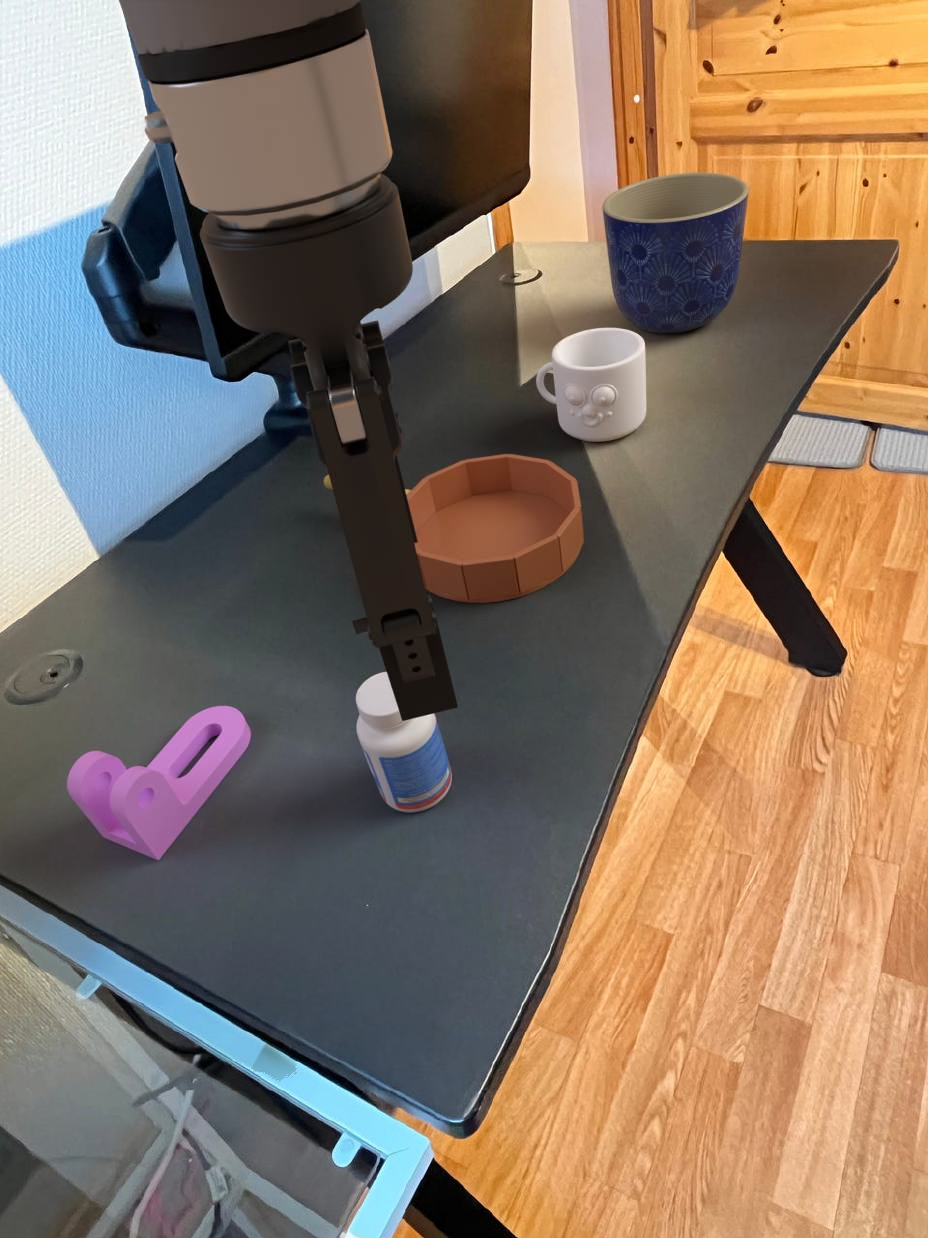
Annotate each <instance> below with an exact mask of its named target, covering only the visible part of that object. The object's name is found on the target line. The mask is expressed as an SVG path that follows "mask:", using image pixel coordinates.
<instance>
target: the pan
mask: <svg viewBox="0 0 928 1238" xmlns="http://www.w3.org/2000/svg"><path fill="white" fill-rule="evenodd" d="M323 485H324V487H325V488H326V489H327V490H331V491H333V488H332V485H331V481H330V477H329V474H327V475H325V477H324V478H323ZM405 491H406V495H407V499H408V504H409V508H410V512H411V516H412V520H413V524H414V528H415V532H416V536H417V540H418V542H417V543H414V544H415V548H416V552H417V556H418V560H419V564H420V568H421V572H422V576H423V580H424V585H425V589H426V591H428V592H429V593H432V594H434V595H436V596H438V597H441V598H444V599H447V600H451V601H455V602H460V603H471V604H473V603H474V604H485V603H497V602H503V601H510V600H514V599H517V598H521V597H524V596H526V595H530V594H532V593H535V592H537V591H539V590H541V589H543V588H545V587H547V586H548V585H551V584H552V583H553V582H555V581H556V580H558V579H559V578H560V577H562V576H563V575H564V574H565V573H566V572H567V571H569V569H570V568H571V567H572V565H573V564H574V563H575V562H576V560H577V558H578V557H579V554H580V552H581V549H582V547H583V545H584V542H585V536H584V535H585V533H584V524H583V511H582V505H581V497H580V490H579V485H578V480H577V478H576V477H574V476H573V475H571V474H569V473H568V472H567V471H565V470H564V469H563V468H561V467H560V466H558V465H557V464H555V463H554V462H553V461H552V460H549V459H543V458H537V457H531V456H525V455H520V454H514V453H509V454H508V453H502V454H496V455H489V456H482V457H473V458H466V459H462V460H460V461H458V462H455V463H454V464H451V465H449V466H447V467H444V468H442V469H440V470H437V471H435V472H433V473H431V474H428V475H426V476H424V477H423V478H422V479H421V480H420V481H419V482H418V483H417V484H416V485H415V486H414V487H413V488H412V489H408V488H405Z"/></svg>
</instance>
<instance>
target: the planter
mask: <svg viewBox="0 0 928 1238" xmlns="http://www.w3.org/2000/svg"><path fill="white" fill-rule="evenodd" d="M749 194H750V189H749V186H748V184H747V183H746V182H745V181H744V180H742V179H741V178H739V177H736V176H733V175H730V174H724V173H716V172H684V173H673V174H666V175H660V176H656V177H651V178H646V179H641V180H640V181H637V182H633V183H630V184H627V185H625V186H623V187H621V188H619V189H617V190H615V191H614V192H612V193H611V194H609V195H608V196H607V197H606V198H605V199H604V201H603V203H602V216H603V217H602V218H603V225H604V234H605V241H606V250H607V257H608V266H609V267H608V268H609V275H610V283H611V288H612V294H613V297H614V300H615V303H616V305H617V307H618V310H619V311H620V313H621V315H623V317H624V318H625V319H626V320H627V321H628V322H630V323H631V324H632V325H633V326H635V327H637V328H639V329H642V330H644V331H647V332H651V333H656V334H657V333H658V334H676V333H677V334H678V333H684V332H688V331H692V330H696V329H698V328H701V327H703V326H705V325H707V324H709V323H710V322H712V321H713V320H715V319H716V318H717V317H719V316H720V315H721V313H722V312H723V311H724V310H725V309H726V308H727V306H728V305H729V303H730V301H731V299H732V298H733V295H734V293H735V289H736V287H737V283H738V279H739V274H740V266H741V258H742V252H743V251H742V249H743V244H744V243H743V241H744V233H745V226H746V219H747V218H746V217H747V211H748V203H749Z"/></svg>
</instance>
